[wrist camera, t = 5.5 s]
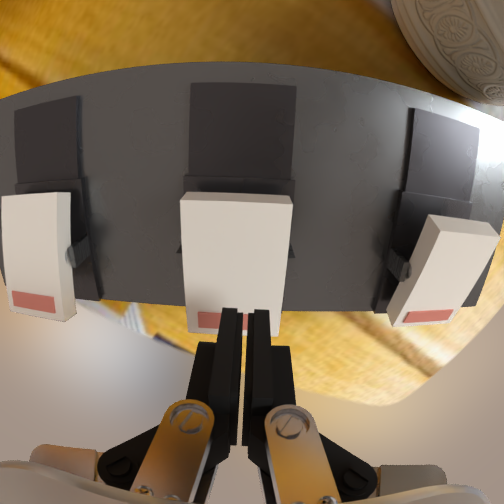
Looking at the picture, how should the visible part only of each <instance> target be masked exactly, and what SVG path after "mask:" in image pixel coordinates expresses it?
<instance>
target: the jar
mask: <svg viewBox="0 0 504 504" xmlns="http://www.w3.org/2000/svg"><path fill="white" fill-rule="evenodd" d="M391 5H392V9H393V12H394V15H395V18H396V20H397V23H398V25H399V27H400V30H401V32H402V34H403V35H404V37H405V39H406V41H407V43H408V44H409V46H410V47H411V49H412V50H413V52H414V53H415V55H416V56H417V57H418V59H419V60H420V61H421V63H422V64H423V65H424V66H425V67H426V68H427V69H428V71H429V72H430V73H431V74H432V75H433V76H434V77H435V78H436V79H438V80H439V81H440V82H441V83H442V84H444V85H445V86H446V87H447V88H449V89H450V90H452V91H454V92H455V93H457V94H459V95H461V96H463V97H466V98H469V99H472V100H474V101H476V102H479V103H483V104H487V105H496V106H504V0H391Z"/></svg>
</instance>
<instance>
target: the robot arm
mask: <svg viewBox="0 0 504 504" xmlns="http://www.w3.org/2000/svg"><path fill="white" fill-rule="evenodd" d="M242 334H243V312H238V308H225V307H223V308H222V313H221V319H220V325H219V331H218V337H217V343H213V342H201V341H199V343H198V347H197V351H196V355H195V360H194V364H193V369H192V373H191V377H190V382H189V386H188V391H187V396H186V400H180V401H178V402H175V403H174V404H172V405H171V406H170V407H169V408H168V409H167V411H166V412H165V414H164V417H163V419H162V421H161V423H160V424H159V425H157V426H156V427H154V428H152V429H150V430H148V431H146V432H144V433H142V434H140V435H138V436H136V437H134V438H132V439H130V440H128V441H126V442H124V443H122V444H120V445H118V446H116V447H114V448H112V449H109V450H108V451H106V452H105V453H101V452H97V451H96V450H92V449H80V448H71V447H63V446H56V445H48V444H44V445H40V446H37V447H36V448H35V449H34V450H33V451H32V453H31V456H30V460H29V462H28V461H20V460H17V461H16V460H15V461H14V460H10V461H2V462H0V504H207V503H208V500H209V497H210V493H211V490H212V486H213V483H214V480H215V476H216V473H217V469H218V464H219V463H220V462H222V461H223V460H225V459H226V458H228V455H229V453H230V445H237V428H238V412H239V396H240V379H241V360H242ZM244 388H245V389H244V408H243V429H242V446H248V458H249V459H250V460H251V461H252V462H253V463H255V464H256V465H257V466H258V474H259V479H260V485H261V490H262V496H263V501H264V504H491V503H490V501H489V499H488V498H487V496H486V495H485V494H484V493H483V492H482V491H481V490H479V489H477V488H474V487H472V486H467V485H459V484H447V478H446V475H445V472H444V471H443V470H442V469H441V468H440V467H438V466H436V465H381V466H380V467H371V466H370V465H369V464H368V463H366V462H364V461H362V460H361V459H359V458H358V457H356V456H354V455H353V454H351V453H350V452H348V451H346V450H345V449H343V448H342V447H340V446H339V445H337V444H336V443H334V442H332V441H331V440H329V439H328V438H326V437H325V436H323V435H322V434H320V433H319V432H318V430H317V426H316V424H315V421H314V418H313V417H312V415H311V414H310V413H309V412H308V411H307V410H306V409H304V408H302V407H300V406H296V400H295V390H294V381H293V372H292V363H291V354H290V347H289V346H271V332H270V312H269V310H264V309H254V313H248V326H247V346H246V366H245V387H244Z"/></svg>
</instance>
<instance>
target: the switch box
mask: <svg viewBox="0 0 504 504" xmlns="http://www.w3.org/2000/svg"><path fill="white" fill-rule="evenodd" d="M53 192H69V193H71V201H70V235H71V246H70V247H68V252H69V257H70V262H71V267H72V275H73V286H74V296H75V298H76V299H84V300H93V301H100V300H101V299H107V300H117V301H127V302H138V303H149V304H161V305H174V306H186V302H185V289H184V275H183V259H182V240H181V215H180V200H181V198H182V197H183V196H184V194H185V193H186V192H218V193H246V194H267V195H285V196H289V197H290V199H291V201H292V203H293V210H292V220H291V230H290V240H289V249H288V258H287V267H286V276H285V285H284V293H283V302H282V310H281V313H282V311H373V312H374V314H375V313H387V311H386V309H387V307H388V305H389V303H390V301H391V299H392V297H393V295H394V293H395V291H396V289H397V286H398V284H399V282H404V281H405V277H406V274H407V270H408V266H409V260H410V258H411V256H412V254H413V251H414V249H415V247H416V244H417V242H418V239H419V237H420V234H421V232H422V229H423V227H424V224H425V222H426V219H427V217H428V214H430V215H438V216H446V217H453V218H461V219H468V220H474V221H481V222H487V223H489V224H490V225H491V226H492V228H493V229H494V230H495V231H496V232H497V234H498V235H500V231H501V228H502V224H503V219H504V122H503V121H501V120H499V119H496V118H494V117H492V116H490V115H487V114H485V113H483V112H480V111H478V110H475V109H473V108H470V107H468V106H465V105H463V104H460V103H457V102H454V101H452V100H449V99H446V98H443V97H440V96H437V95H434V94H431V93H428V92H424V91H421V90H418V89H414V88H411V87H407V86H404V85H400V84H396V83H392V82H388V81H384V80H380V79H375V78H371V77H366V76H361V75H356V74H351V73H345V72H339V71H333V70H327V69H320V68H312V67H304V66H295V65H284V64H272V63H255V62H188V63H172V64H159V65H149V66H140V67H132V68H125V69H118V70H111V71H105V72H100V73H94V74H89V75H84V76H80V77H75V78H71V79H66V80H62V81H58V82H54V83H51V84H47V85H43V86H40V87H36V88H33V89H30V90H26V91H23V92H20V93H17V94H14V95H11V96H8V97H6V98H3V99H0V269H1V273H2V276H3V279H4V283H5V285H6V279H5V270H4V259H3V246H2V219H1V203H2V196H11V195H23V194H37V193H53ZM495 249H496V248H495ZM494 253H495V250H494V252H493V254H492V255H491V257H490V259H489V261H488V263H487V265H486V266H485V268H484V270H483V272H482V273H481V275H480V277H479V278H478V280H477V282H476V283H475V285H474V287H473V288H472V290H471V292H470V293H469V295H468V296H467V298H466V299H465V301H464V302H463V304H462V306H461V307H471V306H476V303H477V301H478V298H479V296H480V293H481V291H482V288H483V285H484V283H485V280H486V277H487V274H488V271H489V268H490V265H491V262H492V259H493V256H494Z"/></svg>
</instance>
